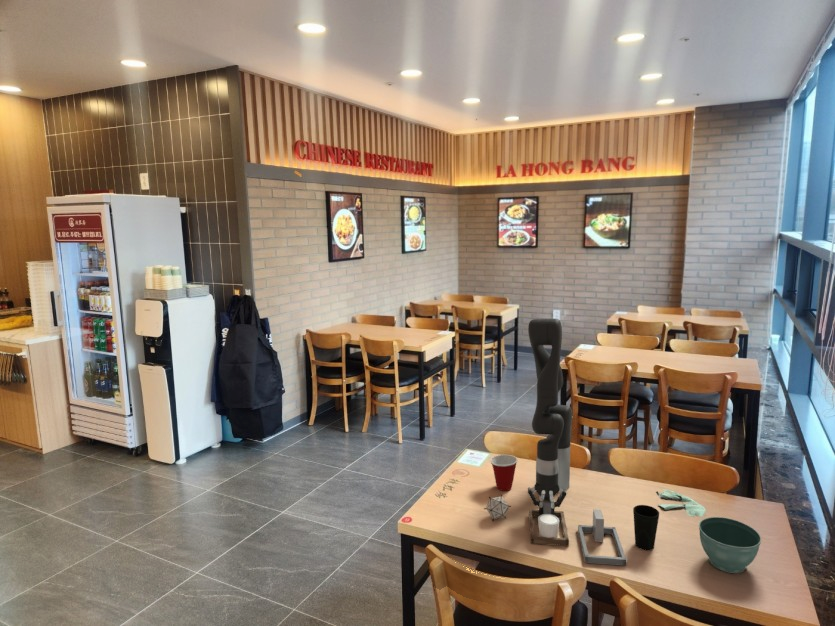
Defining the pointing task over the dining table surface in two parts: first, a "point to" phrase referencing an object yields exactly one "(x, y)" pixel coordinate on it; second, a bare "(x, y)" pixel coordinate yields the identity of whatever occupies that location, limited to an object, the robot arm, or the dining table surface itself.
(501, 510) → the game die
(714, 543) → the green bowl
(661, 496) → the cloth
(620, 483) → the dining table surface
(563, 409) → the robot arm
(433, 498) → the dining table surface
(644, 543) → the cup
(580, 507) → the dining table surface
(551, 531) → the white cylinder
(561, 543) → the wooden picture frame
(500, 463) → the plastic cup
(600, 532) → the grey hollow rectangular frame
